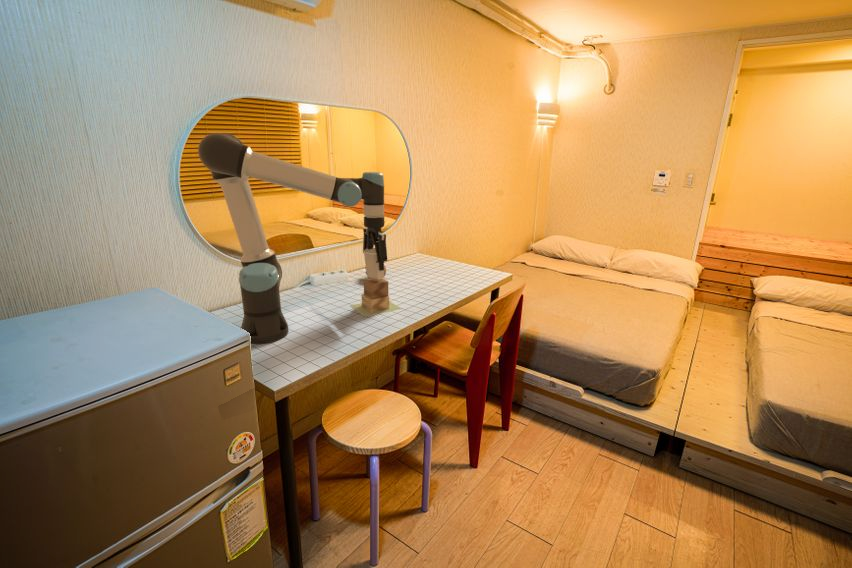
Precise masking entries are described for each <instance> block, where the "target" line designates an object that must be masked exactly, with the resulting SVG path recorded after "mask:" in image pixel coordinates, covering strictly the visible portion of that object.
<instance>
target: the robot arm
mask: <svg viewBox="0 0 852 568" xmlns="http://www.w3.org/2000/svg"><path fill="white" fill-rule="evenodd" d="M197 153H198V157H199V160H200V162H201V164H202V165H203V166H204V167H205V168H206V169H207V170H209V171H210V173H211V176H212V179H213V181H214V182H215V183H217V184H219V186H220V187H221V190H222V193H223V196H224V199H225V203H226V206H227V208H228V212H229V215H230V218H231V221H232V223H233V226H234V229H235V234H236V236H237V239H238V242H239V246H240V249H241V251H242V256H241V258H240V263H241V266H242V268H241V269H240V270H239V273H238V282H239V285H240V294H241V301H242V308H243V310H242V311H243V318H242V322H241V326H240V329H241V328H242V329H244V330H246V331H247V332H249V333H250V336H251V343H250V344H255V345H256V344H259V345H260V344H267V343H273V342H276V341H279V340H281V339H283V338H284V337H286V336H287V335H288V334H289V325H288V322H287V320H286V318H285V316H284V313H283V311H282V307H281V306H282V305H281V303H282V302H281V294H280V293H281V292H280V286H281V285H280V284H281V281H282V279H283V269H282V266H281V265H280V262H279V261H278V259H277V255H276V252H275V250H274V249H271V248H270V247H269V244H268V242H267V238H266V234H265V231H264V228H263V225H262V221H261V218H260V214H259V211H258V208H257V205H256V201H255V199H254V195H253V191H252V188H251V185H250V182H249V178H253V179H256V180H260V181H262V182H265V183H271V184H274V185H277V186H281V187H284V188H288V189H291V190H295V191H298V192H302V193H304V194H308V195H312V196H316V197H318V198H319V197H320V198H323V199H325V200H329V201H332V202H335V203H339V204H342V205H343V206H344V207H351V208H352V207H354V206H357V205H358V204H359V203H360V201H361V200H363V204H362V206H363V210H362V211H363V215H364V217H363V226H364V227H365V228H363V229H362V230H363V238H362V239H363V240H362V242H363V245H362V253H363V254H364V252H363V250H365V249H368V250H370V249H373V248H375V250H376V253H377V260H378V261H376V263H377V279H381V278H383V279H384V278H385V276H384V265H385V262H387V261H388V252H387V251H388V250H387V235H386V233H384V234H383V233H382V232H383V231H382V228H384V227H385V180H384V179H385V178H384V174H383V173H382V172H378V171H377V172H375V171H368V172H367V171H366V172H365V171H364V172H363V173H362V175H361V176H362V177H358V178H357V177H356V178H355V177H354V178H353V177H351V178H350V177H337V176H333V175H331V174H327V173H324V172H322V171H318V170H314V169H312V168H308V167H305V166H301V165H298V164H296V163H292V162H290V161H285V160H283V159H279V158H276V157H273V156H269V155H266V154H263V153H260V152H258V151H257V152H256V151H253V150H252V148H251V146H249V145H246V144H244V143H243V142H242V141H241V140H240V139H239V138H238V137H236V136H235V135H233V134H230V133H226V132H222V133H221V132H220V133H219V132H215V133H209V134H207V135H205V136H203V138H202V139H201V140H200V142H199V144H198V147H197ZM366 273H367V272H366V271H365V274H366Z"/></svg>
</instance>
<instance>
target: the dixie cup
mask: <svg viewBox="0 0 852 568" xmlns="http://www.w3.org/2000/svg"><path fill="white" fill-rule="evenodd" d="M363 252H364V253H363ZM362 253H363V256H364V262H365V267H366V269H365V273H366V272H367V275H366V276H367V278H377V263H376V261H378V260H377V253H376V250H375V247H373V249H370V250H368V249H365V250H363V249H362Z"/></svg>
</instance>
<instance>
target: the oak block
mask: <svg viewBox="0 0 852 568" xmlns="http://www.w3.org/2000/svg"><path fill="white" fill-rule="evenodd" d="M389 301H390V295H388V296H387V297H382V298H377V299H371V298H369V297H368V296H366V295H365V294H364V293H361V303H362V306H363V307H364V308H366V309H367V310H368V311H370V312H375V311H380V310H384V309H389Z"/></svg>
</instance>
